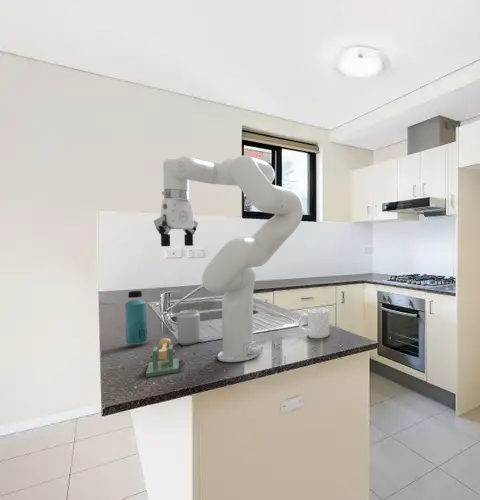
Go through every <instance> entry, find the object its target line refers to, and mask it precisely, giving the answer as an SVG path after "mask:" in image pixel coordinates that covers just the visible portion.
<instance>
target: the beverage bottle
mask: <svg viewBox="0 0 480 500" xmlns="http://www.w3.org/2000/svg"><path fill="white" fill-rule="evenodd" d="M142 293H143V292H142V290H132V291H128V296H127V297H128V299H130V298H141V297H143V294H142ZM146 304H147V303H146V301H145V300H143V299H131V300H128V301H127V302H126V303H125V304H124V309H125V327H124V328H125V341H126V343H127V344H129V345H135V344H141V343H145V342H146V341H147V340H148V328H147V309H146V307H147V306H146Z"/></svg>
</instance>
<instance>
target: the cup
mask: <svg viewBox="0 0 480 500" xmlns="http://www.w3.org/2000/svg"><path fill="white" fill-rule="evenodd" d="M303 318H307V328H304V327H303V323H302V321H303ZM298 328H299V329H300V331H302V332H304V333H307V336H308V337H309V338H311V339H324V338H328V337H329V335H330V309H329V308H312V309H308V310H307V313H302V314H300V316H299V318H298Z"/></svg>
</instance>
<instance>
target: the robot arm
mask: <svg viewBox="0 0 480 500" xmlns="http://www.w3.org/2000/svg"><path fill="white" fill-rule="evenodd" d="M162 168H163V169H162V170H163V191H162V193H161V194H162V196H163V199H162V203H161V209H160V216H159V217H158V218H156V219H154V220H153V224H154V226H155V230H157V232H158V234H159V235H160V246H161V247H170V246H171V235H170V234H169V233H170V231H171V230H182V231H183V232H184V235H183V236H184V246H185V247H192V246H194V235H195V232H196V231H197V228H198V225H199V223H198V222H197V221H196V220H195V219H194V209H193V205H192V201H191V200H190V181H193V182H200V183H203V184H209V185H220V186H221V185H222V186H236V187H238V188H239V189H240V191H242V193H243V194H244V195H245V197H246V198H247V200H248V201H249V202H250V203H251V205H252V206H253V207H254V208H255V209H257V210H258V211H260V212H261V213H266V214H273V216H272V217H270V218H269V219H267V220H266V221H265V222H264V223H263V224H262V225H261V226H260V227H259V229H257V231H256V232H255V233H253V234H252V235H250V236H242V237H241V236H239V237H235V238H232V239H230V240H229V241H227V242H226V243H225V244H224V245H223V246H222V247H221V248H220V250H219V251H218V252H217V253H216V254H215V256H214V257H213V258H212V259H211V260H210V261H209V263H208V264H207V265H206V267H205V268H204V271H203V272H202V277H201V281H202V285H203V286H204V288H205V290H207V291H208V292H209V293H212V294H223V297H222V300H221V325H222V327H221V331H222V332H221V334H222V335H221V336H222V338H221V340H222V341H221V342H222V350H221V351H220V352H219V353H218V354H217V360H218V361H220V362H223V363H239V362H245V361H249V360H252V359H255V358H256V357H258V356H259V355H261V354H262V352H263V350H264V346H262V345H257V341H256V340H254V289H255V283H256V270H255V268H259V267H262V266H264V265H265V264H266V263H268V261H269V260H270V259H271V258H272V257H273V256H274V254H276V253H277V251H278V250H279V249H280V248H281V247H282V245H284V243H285V242H286V240H288V239H289V238H290V236H291V235H292V234H294V232H296V230H297V228H298V227H299V225H300V224H301V221H302V219H303V215H304V206H303V201H302V199H301V197H300V195H299V194H298V193H297V192H296V191H294V190H292V189H290V188H287V187H284V186H280V185H275V184H273V183H274V182H273V181H274V180H275V175H276V174H275V170H274V168H273V166H271V164H270V163H268V162H267V161H265V160H262V159H259V158H256V157H254V156H250V155H240V156H237V157H235V158H226V159H224V160H223V161H222V162H221V163H220V162H211V161H208V160H204V159H201V158H197V157H193V156H189V155H184V156H179V157H178V158H166V159H165V160H164V161H163V165H162Z"/></svg>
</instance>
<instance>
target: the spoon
mask: <svg viewBox="0 0 480 500" xmlns="http://www.w3.org/2000/svg"><path fill="white" fill-rule="evenodd" d="M169 345H172V339H170V338H168V337H164V338H161V339H159V342H158V347H159V348H158V361H162V360H168V358H169Z"/></svg>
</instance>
